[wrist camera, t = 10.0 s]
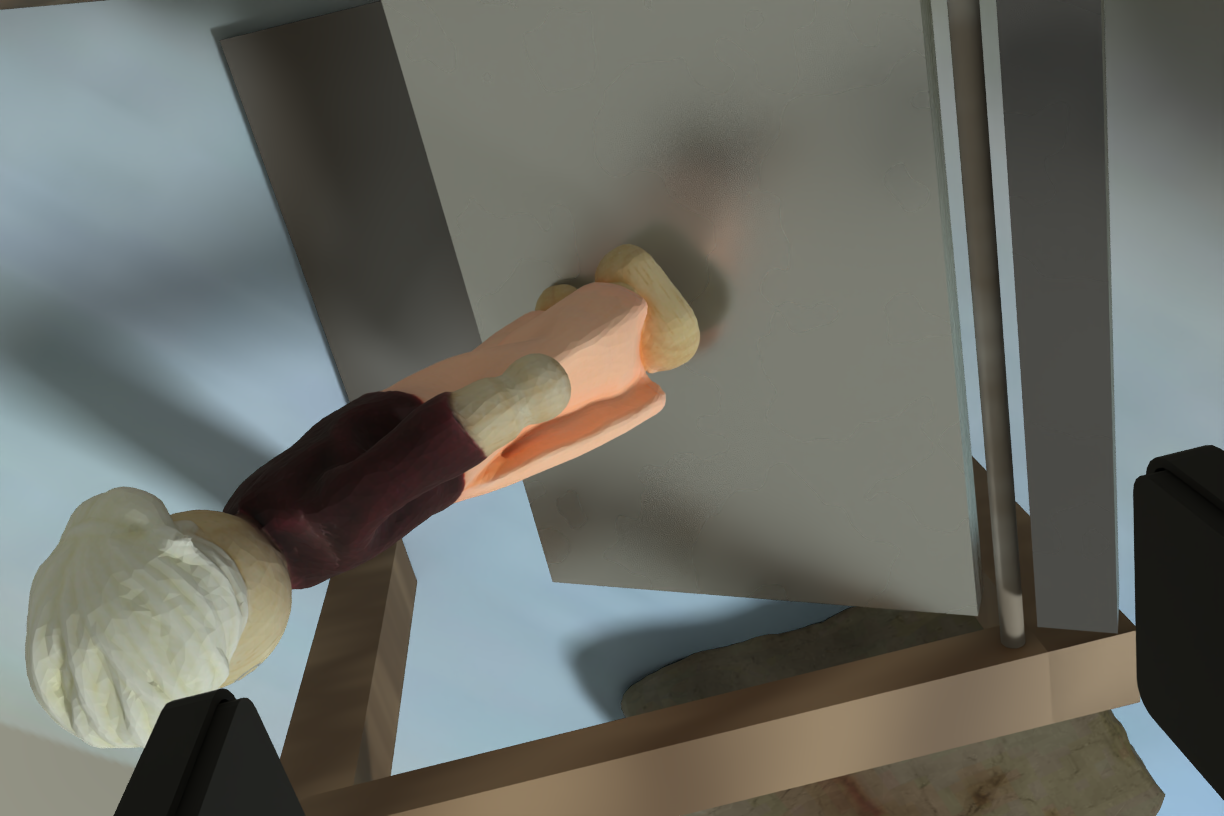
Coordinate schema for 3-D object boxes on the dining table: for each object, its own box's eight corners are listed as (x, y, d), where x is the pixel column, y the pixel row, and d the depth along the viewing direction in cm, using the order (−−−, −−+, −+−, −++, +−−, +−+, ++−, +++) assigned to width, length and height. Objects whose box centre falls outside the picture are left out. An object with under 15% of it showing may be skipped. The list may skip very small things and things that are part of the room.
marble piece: (609, 685, 37) (622, 768, 34) (967, 469, 35) (1024, 530, 32) (826, 940, 44) (857, 1034, 40) (1140, 769, 42) (1205, 850, 38)
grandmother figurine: (586, 457, 25) (80, 840, 16) (492, 326, 24) (-65, 639, 16) (809, 310, 19) (202, 785, 10) (685, 138, 19) (-22, 473, 10)
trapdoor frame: (846, -271, 26) (1120, -458, 14) (926, 455, 34) (1139, 701, 23) (93, -85, 26) (-232, -125, 14) (358, 596, 34) (287, 912, 23)
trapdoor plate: (1098, -210, 16) (1095, -211, 15) (1119, 591, 22) (1118, 633, 21) (407, -31, 22) (368, -23, 21) (572, 555, 28) (549, 586, 27)
